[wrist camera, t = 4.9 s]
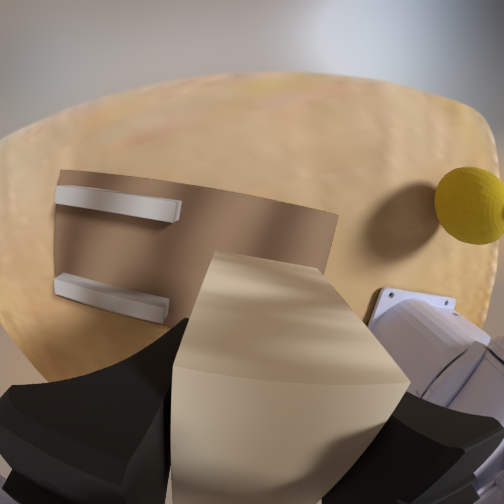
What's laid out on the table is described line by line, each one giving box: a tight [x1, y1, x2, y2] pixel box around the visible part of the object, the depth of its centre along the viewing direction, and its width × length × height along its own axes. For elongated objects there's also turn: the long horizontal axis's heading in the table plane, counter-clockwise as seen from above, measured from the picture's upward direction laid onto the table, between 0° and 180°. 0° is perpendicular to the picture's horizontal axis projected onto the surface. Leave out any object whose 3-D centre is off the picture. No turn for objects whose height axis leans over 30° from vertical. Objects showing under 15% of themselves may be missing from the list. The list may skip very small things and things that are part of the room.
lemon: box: [434, 167, 504, 245], centre depth 14 cm, size 6×6×8 cm
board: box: [54, 170, 338, 327], centre depth 17 cm, size 20×10×3 cm, turn 79°
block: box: [171, 250, 411, 504], centre depth 8 cm, size 4×6×7 cm, turn 169°
